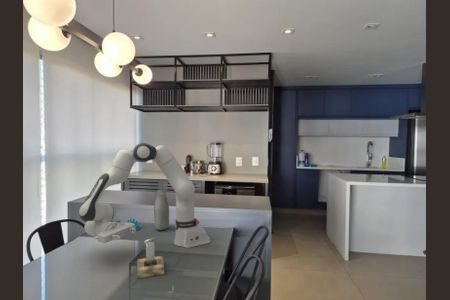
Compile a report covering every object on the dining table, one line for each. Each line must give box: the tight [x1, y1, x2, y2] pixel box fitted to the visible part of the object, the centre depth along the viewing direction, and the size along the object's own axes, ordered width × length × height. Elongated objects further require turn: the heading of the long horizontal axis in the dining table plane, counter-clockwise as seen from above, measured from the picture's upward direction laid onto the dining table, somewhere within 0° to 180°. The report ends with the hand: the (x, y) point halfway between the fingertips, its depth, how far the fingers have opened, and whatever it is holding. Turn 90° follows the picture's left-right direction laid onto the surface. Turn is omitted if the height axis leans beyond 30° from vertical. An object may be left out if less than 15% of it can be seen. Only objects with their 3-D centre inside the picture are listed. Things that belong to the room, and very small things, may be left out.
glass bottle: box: [153, 189, 170, 231], centre depth 182 cm, size 10×10×28 cm
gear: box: [126, 218, 141, 231], centre depth 182 cm, size 11×6×10 cm
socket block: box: [136, 255, 165, 279], centre depth 125 cm, size 12×12×4 cm
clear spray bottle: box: [143, 236, 157, 266], centre depth 125 cm, size 7×4×15 cm, turn 153°
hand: (128, 234), depth 132 cm, fingers open, 8 cm apart
